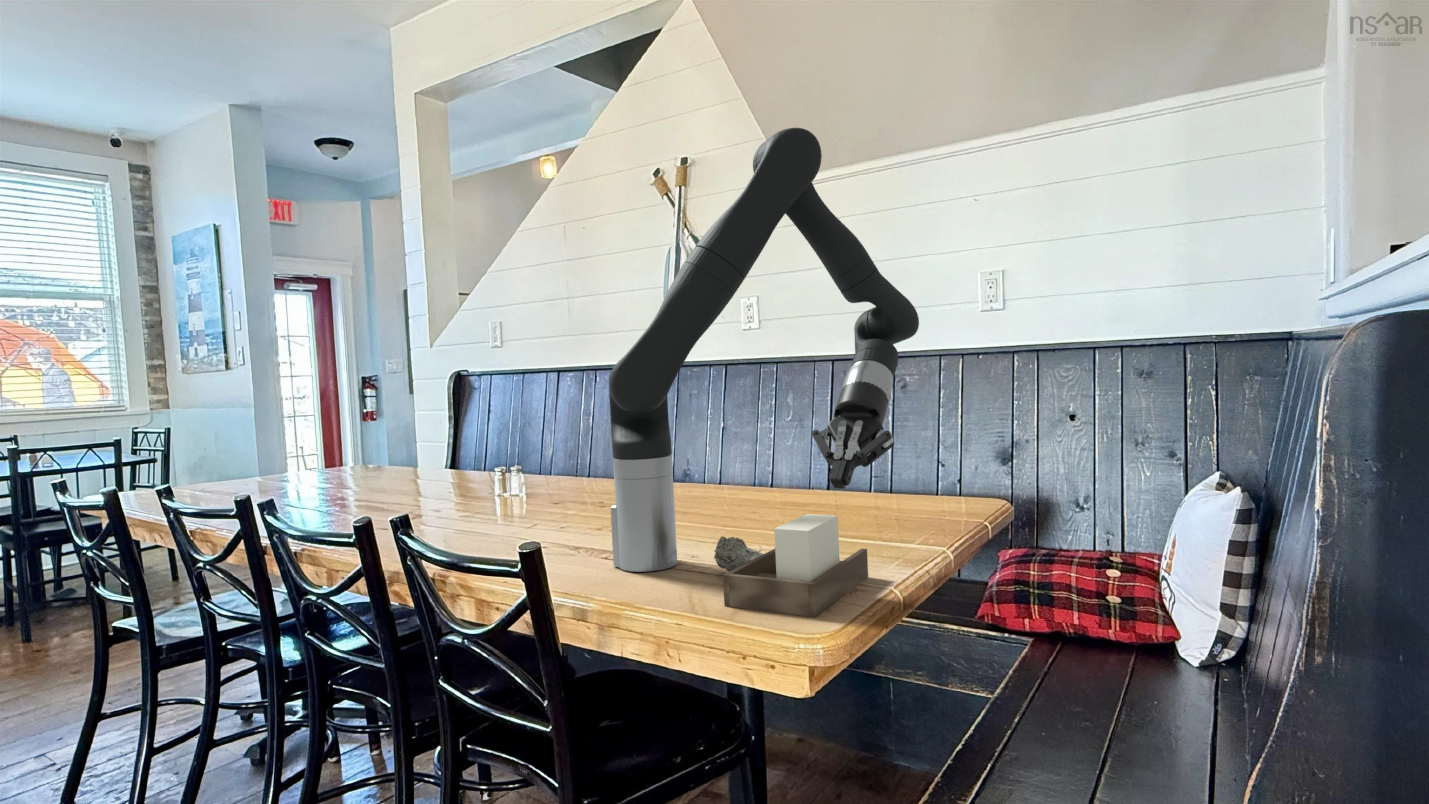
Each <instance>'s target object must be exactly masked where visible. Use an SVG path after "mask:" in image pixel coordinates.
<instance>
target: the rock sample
mask: <svg viewBox="0 0 1429 804" xmlns="http://www.w3.org/2000/svg"><path fill="white" fill-rule="evenodd" d="M713 553H715V554H714V557H713V559H714V561H715V563H716V565H717V566H718V567H719V568H721V569H723V570H726V571H727V573H728V572H730V571H732V570H734V569H735V568H737V567H739V566H741V565H743V564H745V563H747V562H749V561H751V560H753V559H755V558H757V557H759V556H761V555H763V554H764V553H762V552H760V551H758V550H756V549H752V548H751V547H750V548H749V547H748V546H747V545H746V542H745V541H744V540H743V539H742V538H741V539H740V538H739V537H735V536H731V537H726V536H724V535H722V536H720V537H719V539H718V541H717V545H716V547H715V550H713Z"/></svg>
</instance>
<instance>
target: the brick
mask: <svg viewBox="0 0 1429 804" xmlns="http://www.w3.org/2000/svg"><path fill="white" fill-rule="evenodd" d="M838 517H839V516H838V515H831V514H814V513H812V514H811V513H810V514H809V513H805V514H803V515H801V516H800V517H797V518H795V519H792V520H790V521H788V522H785V523H783V524H782V525H779V526H778V527H775V528H774V549H775V555H776V576H777V579H787V580H797V581H807V582H811V581H813V580H814V579H816V578H817V577H819V576H820V575H822V574H823V573H825V572H826V571H828V570H829V569H831V568H832V567H834V566H836V565H837V564H839V563H840V561H841V560H840V543H839V542H840V539H839V520H838Z"/></svg>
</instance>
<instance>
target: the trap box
mask: <svg viewBox="0 0 1429 804" xmlns="http://www.w3.org/2000/svg"><path fill="white" fill-rule="evenodd" d="M762 554H763V555H761V556H759V557H757V558H755V559H753V560H751V561H749V562H747V563H745V564H743V565H741V566H739V567H737V568H735V569H734V570H732V571H730V572H728V571H727V572H726V573H724V574H722V579H723V582H722V585H723V600H724V607H731V608H739V609H747V610H753V611H762V612H763V611H764V612H768V613H769V612H770V613H779V614H787V615H795V616H803V617H810V618H817V617H818V616H819V615H821V614H822V613H823V612H824V610H825V609H826V610H827V609H829V607H831V606H833V605H834V604H836V602H838V601H839V600H840V599H842V598H843V597H844V596H845V595H847V594H848V593H850V592H851V591H852V590H854V589H855V588H856V587H857V586H859V585H860V584H861V583H863V582H864V581H865V580H867V579H868V578H869V566H868V565H869V564H868V563H869V562H868V560H869V559H868V549H867V548H860V549H859V550H856V552H854V553H852V554H851V555H849V556H848V557H847V558H844V559H842V560H840V563H839V564H837V565H836V566H834V567H832V568H831V569H829V570H828V571H826V572H825V573H823V574H822V575H820V576H819V577H817V578H816V579H814V580H813V581H811V582H807V581H797V580H787V579H777V576H776V555H775V548H774V549H773V548H772V549H771V550H769V551H768V552H765V553H762ZM826 610H825V611H826Z"/></svg>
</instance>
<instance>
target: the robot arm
mask: <svg viewBox="0 0 1429 804" xmlns="http://www.w3.org/2000/svg"><path fill="white" fill-rule="evenodd" d="M822 155H823V154H822V147H821V144H820V142H819V140H818V139H817V137H816V135H815V134H814V133H812V132H811V131H810V130H808V129H805V128H802V127H790V128H786V129H785V128H784V129H782V130H780V131H778V132H776V133H774V134H772V136H770V137H769V138H767V139H766V140H765V141H763V142H762V143H761V144H760V145H759V146H758V147H757V149H756V151H755V153H754V156H753V158H752V171H753V174H752V176H751V178H750V179H749V181H748V184H746V186H745V187H744V190H743V191H742V192H741V194H740V195H739V196H738V197H737V198H736V199H735V201H734V202H733V203H732V204H731V205H730V206H729V207H728V208H727V209H726V210H724V212H722V214H721V215H720V216H719V217H718V219H716V220H715V221H714V222H713V224H712V225H711V226H710V227H709V229H708V230H706V232H705V233H704V234H703V236H702V237H701V238H700V240H699V241H698V242H697V243H696V245H695V246H694V247H693V249H692V250H691V252H690V253H689V255H688V256H687V258H686V259H685V261H684V262H683V264H682V265H681V268H680V269H679V270H678V272H677V274H676V275H675V277H674V279H673V282H672V283H671V285H670V286H669V288H668V290H667V293H666V295H665V297H664V299H663V300H662V303H661V305H660V306H659V307H660V308H659V310H658V311H657V312H656V314H655V316H654V318H653V320H652V321H651V323H650V324H649V326H647V328H646V329H645V331H643V333H642V334H641V335H640V337H639V338H638V340H637V341H636V342H635V343H634V344H633V345H632V347H631V348H630V349H629V350H628V351H627V352H626V353H625V354H624V356H623V357H621V358H620V360H618V361H617V362H616V363H615V365H614V366H613V368H612V369H611V372H610V374H609V376H608V377H609V379H608V396H609V410H610V411H609V413H610V414H609V415H610V433H611V436H610V437H611V448H612V449H611V451H612V464H613V466H612V467H613V479H614V480H613V482H614V483H613V484H614V501H615V502H614V503H615V504H614V505H611V507H610V524H611V527H610V528H611V540H612V542H611V543H612V544H611V546H612V561H613V567H616V568H619V569H621V570H622V571H626V572H639V573H641V572H645V573H646V572H655V571H662V570H666V569H669V568H670V569H671V568H672V567H674V566H676V565H677V564H678V549H677V529H676V526H677V525H676V511H675V509H676V507H675V491H674V490H675V489H674V473H673V472H674V471H673V455H672V453H673V450H672V437H671V436H672V435H671V430H670V429H671V428H670V423H669V422H670V420H669V419H670V418H669V402H668V394H669V392H670V390H671V388H672V385H674V382H675V380H676V377H677V376H678V374H679V372H680V370H681V368H682V367H683V365H684V363H685V361H686V360H687V358H688V356H689V354H690V353H691V351H692V349H693V348H694V347H695V345H696V344H697V342H698V341H699V340H700V339H701V338H702V336H703V335H704V334H705V333H706V331H707V330H708V329H709V328H710V327H711V326H712V325H713V323H714V322H715V321H716V320H717V318H718V317H719V316H720V315H721V313H722V312H723V311H724V309H725V308H726V307H727V305H729V303H730V301H731V299H733V298H734V295H735V294H736V293H737V291H738V289H739V288H740V287H741V286H742V283H743V282H744V281H745V279H746V278H747V276H748V274H749V273H750V271H751V269H752V268H753V266H754V264H755V263H756V261H757V260H758V258H759V257H760V255H761V253H762V252H763V250H764V248H765V247H766V244H767V243H768V241H769V240H770V238H771V236H772V234H773V232H774V231H775V229H776V228H777V225H778V224H779V223H780V221H781V220H782V218H783V217H785V215H786V216H787V217H788V219H789V220H790V221H791V222H792V223H793V224H794V225H795V227H796V228H797V231H799V232H800V233H801V235H802V236H803V238H804V239H805V240H806V241H807V243H808V244H809V246H810V247H811V248H812V250H813V251H814V253H815V254H816V256H817V257H818V259H819V260H820V262H821V263H822V265H823V267H824V269H826V271H827V273H828V275H829V276H830V278H831V279H832V281H833V283H834V284H835V285H836V287H837V288H838V290H839V292H840V293H841V295H842V296H843V298H844V299H845V300H846V301H847V302H848V303H850V304H859V303H870V304H872V305H873V306H875V307H872V308H869V309H868V310H865V311H864V312H862V313H861V314H860V315H859V317H858V318H857V319H856V321H855V324H854V327H853V329H854V330H853V331H854V356H853V359H852V362H851V364H850V368H849V370H848V372H847V374H846V376H845V378H844V381H843V385H842V387H841V390H840V393H839V395H838V398H837V399H838V400H837V402H836V405H835V409H834V413H833V417H832V419H831V420H830V421H829V422H828V423H827V427H826V428H824V429H823V430H821V431H819V430H818V429H814V430H812V431H811V436H812V437H813V441H814V443H815V445H816V446H817V448H818V450H819V451H820V453H821V455H822V457H823V458H824V459H825V462H826V464H827V465H828V466H831V468H830V472H829V475H828V478H829V479H828V480H830V483H831V485H832V486H833V488H834V489H838V490H839V489H840V490H845V489H846V487H847V486H849V485H850V484H851V480H852V478H853V475H854V473H855V470H856V469H857V468H858V467H860V466H861V467H862V468H866V467H868V466H870V465H871V464H872V463H874V462H875V461H876V460H878V459H879V458H880V457H881V456H883V455H884V454H885V453H886V452H888V451H889V450H890V449H892V448H893V447H894V446H895V442H894V438H893V435H892V432H891V431H890V430H884V426H883V425H884V421H885V418H886V414H887V410H888V406H889V404H890V401H891V398H892V391H893V383H894V377H895V374H896V371H897V367H898V364H899V352H898V349H897V348H896V346H894V345H895V344H898V343H901V342H904V341H906V340H909V339H911V338H913V336H915V335H916V334H917V332H918V330H919V326H920V318H919V314H918V312H917V309H916V307H915V306H914V305H913V303H912V302H911V301H910V300H909V299H908V298H907V297H906V296H905V295H904V294H903V293H901V291H899V290H898V289H897V288H896V287H895V286H894V285H893V284H892V283H891V282H890V281H889V280H888V279H887V278H885V277H884V276H883V274H881V272H880V271H879V269H878V267H877V266H876V264H875V263H874V261H873V259H872V258H871V256H870V255H869V253H868V251H867V250H866V248H865V246H864V244H862V242H861V241H860V240H859V238H858V237H857V236H856V235H855V234H854V233H853V232H852V231H851V230H850V229H849V228H848V227H847V226H846V225H845V224H844V223H843V222H842V221H841V220H840V218H838V217H837V216H836V215H835V214H834V213H833V212H832V211H831V210H830V209H829V207H828V206H827V204H825V202H824V201H823V200H822V197H821V196H820V195H819V193H818V192H817V190H816V188H815V186H814V184H813V181H814V180H815V178H816V177H817V175H818V174H819V170H820V168H821V164H822ZM830 437H831V438H832V440H833V442H834V446H835V448H834V452H833V451H832V450H831V448H830V447H829V442H830Z"/></svg>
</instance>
